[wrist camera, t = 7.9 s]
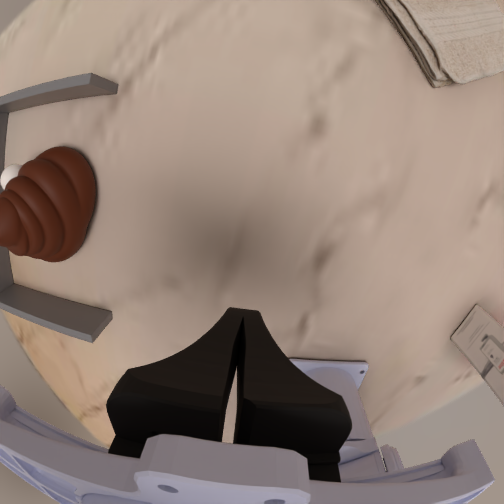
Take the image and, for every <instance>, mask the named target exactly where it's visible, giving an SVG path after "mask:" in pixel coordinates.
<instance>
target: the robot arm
mask: <svg viewBox="0 0 504 504" xmlns="http://www.w3.org/2000/svg"><path fill="white" fill-rule="evenodd" d="M236 368H237V414H236V423H235V432H234V440H233V444H231V443H223V442H222V436H223V429H224V421H225V414H226V408H227V403H228V399H229V396H230V392H231V388H232V384H233V380H234V376H235V372H236ZM368 368H369V366H368V363H367V362H340V361H318V360H302V359H288V358H287V357H286V355H285V354H284V353H283V352H282V351H281V349H280V348H279V347H278V345H277V344H276V342H275V341H274V339H273V338H272V336H271V334H270V333H269V331H268V329H267V327H266V325H265V323H264V321H263V319H262V316H261V313H260V312H259V311H256V310H248V309H240V308H232V307H230V308H228V309H227V311H226V312H225V313H224V315H223V316H222V317H221V318H220V320H219V321H218V322H217V323H216V324H215V325H214V326H213V327H212V328H211V329H210V330H209V331H208V332H207V333H205V334H204V335H203V336H202V337H201V338H200V339H198V340H197V341H196V342H194V343H193V344H192V345H190V346H189V347H187V348H185V349H184V350H182V351H180V352H178V353H176V354H174V355H172V356H170V357H168V358H165V359H163V360H160V361H157V362H154V363H151V364H148V365H144V366H140V367H136V368H131V369H128V370H127V371H126V372H125V374H124V375H123V376H122V377H121V379H120V380H119V381H118V383H117V384H116V386H115V388H114V389H113V391H112V393H111V395H110V396H109V398H108V400H107V404H106V408H107V413H108V416H109V418H110V421H111V424H112V426H113V429H114V432H115V434H116V435H115V438H114V440H113V442H112V444H111V446H110V449H106V448H103V447H101V446H98V445H95V444H93V443H90V442H88V441H86V440H83V439H81V438H79V437H76V436H74V435H72V434H70V433H67V432H65V431H63V430H61V429H59V428H57V427H55V426H53V425H51V424H49V423H47V422H45V421H43V420H41V419H40V418H38V417H36V416H34V415H32V414H31V413H29V412H27V411H26V410H24V409H22V408H21V407H19V406H17V405H16V402H15V400H14V398H13V396H12V395H11V393H10V392H9V391H8V390H7V389H5V387H3V386H1V385H0V462H1V463H3V464H4V465H5V466H6V467H8V468H9V469H10V470H11V471H13V472H14V473H15V474H17V475H18V476H20V477H21V478H22V479H24V480H25V481H26V482H28V483H29V484H31V485H32V486H34V487H35V488H37V489H38V490H40V491H41V492H43V493H44V494H46V495H47V496H49V497H50V498H52V499H54V500H56V501H57V502H59V503H60V504H467V503H469V502H470V501H471V500H473V499H474V498H475V497H476V496H478V495H479V494H480V493H481V492H483V491H484V490H485V489H486V488H488V487H489V486H490V485H491V484H492V483H494V481H495V479H494V477H493V475H492V473H491V471H490V469H489V467H488V465H487V463H486V461H485V459H484V457H483V455H482V453H481V451H480V449H479V448H478V446H477V444H476V442H475V440H474V439H472V440H469V441H466V442H463V443H460V444H457V445H455V446H453V447H452V448H450V449H449V450H448V451H447V452H446V453H445V454H444V455H443V456H442V458H441V459H438V460H435V461H432V462H428V463H424V464H421V465H417V466H413V467H409V468H405V469H404V467H403V464H402V461H401V459H400V456H399V454H398V451H397V450H396V448H393V447H389V445H384V446H382V447H381V451H382V454H383V457H384V458H383V460H384V464H385V467H386V470H387V471H385V468H384V465H383V462H382V458H381V455H380V452H379V449H378V446H377V443H376V440H375V438H374V437H373V434H372V431H371V428H370V425H369V421H368V419H367V416H366V413H365V410H364V407H363V404H362V401H361V398H360V395H359V392H358V389H359V387H360V385H361V383H362V381H363V379H364V376H365V374H366V372H367V370H368ZM362 370H363V371H362ZM360 371H361V372H360Z"/></svg>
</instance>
